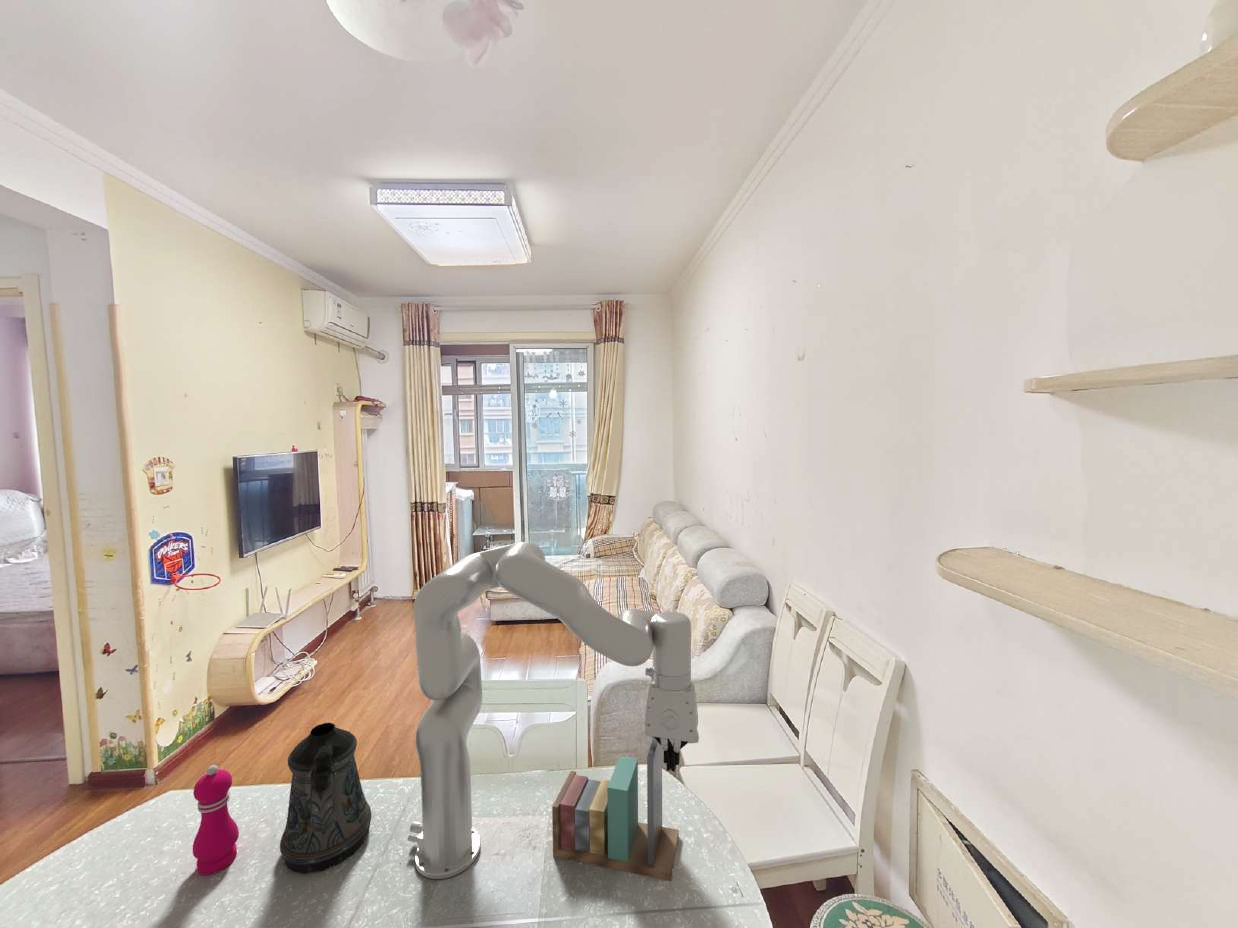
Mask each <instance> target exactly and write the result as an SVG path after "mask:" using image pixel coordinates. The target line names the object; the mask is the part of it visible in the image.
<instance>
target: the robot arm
mask: <svg viewBox="0 0 1238 928" xmlns="http://www.w3.org/2000/svg"><path fill="white" fill-rule="evenodd" d="M498 588H501V589H503V590H504V591H505V592H508V593H509V594H511V595H513V596H515V597H516V598H519V599H521V600H523V601H524V602H526V603H529V604H530V605H533V606H534V607H535V608H536V607H537V609H540V610H541V611H543V612H544V613H547V614H548V615H551V616H552V617H554V618H556V619H558V620H559V621H560V622H561V623H562V624H563V625H564V626H565V627H566V628H567V630H568V631H570V632H572V634H573V635H574V636H575V637H576V638H578V639H579V640H580V641H581V642H582V643H583V644H585V645H586V646H587V647H588V648H590V649H591V650H593V651H594V652H596V653H598V654H600V655H601V656H604V657H605V658H608V659H609V660H611V661H613V662H615V663H618V664H619V665H623V666H626V667H637V666H641V665H643V664H645V663H646V662H648V660H649V658H650V657H651V655H652V666H651V667H648V668H645V676H649V677H650V678H651V679H650V681H649V682H648V686H647V690H646V697H645V698H646V699H645V711H644V735H645V736H647V737H649V738H651V739H653V738H655V739H656V740H657V741H658V743H659V744H660V745H661V746H662V751H663V764H666V771H669V772H670V771H671V772H675V771H676V767H677V766H680V762H681V761H680V760H681V759H680V757H681V754H680V751H681V750H682V748H684V747H685V746H686V745H688V744H690V745H691V744H698V743H699V740H700V736H699V731H698V726H699V717H698V716H699V714H698V701H697V693H696V689H695V688H696V687H695V684H694V681H692V624H691V623H692V622H691V620H690V618H689V616H687V615H686V614H684V613H681V612H678V611H665V612H657V611H650V610H645V609H639V608H629V609H626V610H623V611H622V612H620V613H619V614H618V615H617V616H616V615H614V614H612V613H610V612H609V611H608V610H606V609H605V608H604V607H602V606H601V605H600V604H599V603H598V602H597V601H596V599H595V598H594V597H593V596H592V594H591V593H590V591H589V589H588V587H587V586H586V584H585V583H584V582H583V581H582V580H581V579H579V578H578V577H577V576H574V575H572V574H571V573H568V572H567V571H565V570H562V569H560V568H559V567H557V566H555V565H554V564H551V563H549V562H547V561H546V556H545V553H544V551H543V550H542V549H541V547H539V546H538V545H536V544H535V543H533V542H529V541H520V542H514V543H510V544H507V545H503V546H499V547H495V548H491V549H487V550H482V551H479V552H475V553H471V554H468V555H466V556H465V557H463V558H461V559H460V560H458V561H457V562H455V563H454V564H452V565H450V566H449V567H448V568H447V569H445V570H443V571H441V572H440V573H439V574H437V575H436V576H434V577H432V578H431V579H430V580H428V581H427V582H426V583H424V585H423V586H422V587H421V588H420V589H419V591H418V592H417V594H416V596H415V598H414V602H413V619H414V628H415V629H414V631H415V647H416V648H415V649H416V660H417V661H416V663H417V664H416V665H417V679H418V685H419V688H420V690H421V692H422V694H423V695H424V696H425V697H426V698H428V699H429V700H431V701H432V703H431V704H430V705H429V706H428V708H427V709H426V710H425V712H424V713H423V715H422V716H421V718H420V720H419V723H418V724H417V727H416V731H415V738H414V739H415V740H414V742H415V746H416V752H417V755H418V760H419V770H420V771H419V772H420V787H421V789H420V790H421V793H420V794H421V821H417V820H416V821H415V820H414V821H412V823H411V824H410V827H409V832H410V833H409V834H408V836H407V842H412V843H416V844H417V849H416V851H415V855H414V864H415V865H414V866H415V867H416V868H415V869H416V870H417V872H418V873H419V874H420V875H421V876H423V877H425V878H428V879H432V880H442V879H443V880H444V879H448V878H451V877H454V876H457V875H458V874H460V873H462V872H464V871H466V869H468V868H469V867H470V866H471V865H472V864H473V863H474V862H475V861H476V859H477V858H478V855H479V853H480V850H481V838H480V837H481V836H480V834H479V832H478V831H477V830H476V829H475V828H473V814H472V809H473V806H472V775H471V774H472V773H471V758H470V753H469V750H468V746H467V740H468V736H469V732H470V730H471V729H472V726H473V724H474V722H475V720H476V719H477V717H478V715H479V713H480V711H481V710H482V709H481V708H482V706H483V683H482V682H483V681H482V667H481V655H480V654H481V653H480V650H479V647H478V645H477V643H476V641H475V640H474V638H472V636H470V635H469V634H467V633H465V632H462V628H461V622H460V618H459V615H458V614H459V612H461V611H462V610H463V609H466V608H467V607H470V606H471V605H473V604H474V603H475V602H476V601H477V600H478V599H479V598H480V597H482V595H484V593H485V592H486V591H490V590H493V589H498ZM671 740H672V741H673V740H674V742H673V744H672V741H671Z"/></svg>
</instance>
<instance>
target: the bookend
mask: <svg viewBox="0 0 1238 928" xmlns="http://www.w3.org/2000/svg"><path fill="white" fill-rule="evenodd" d="M646 768H647V769H646V773H647V774H646V776H647V779H646V781H647V782H646V789H647V790H646V791H647V792H646V793H647V794H646V796H647V799H646V801H647V802H646V803H647V804H646V806H647V809H646V811H647V812H646V813H647V815H646V816H647V821H646V822H647V823H646V824H647V831H648V865H649V866H654V863H655V858H656V854H657V849H658V845H659V840H660V836H661V831H662V827H663V749H662V746H661V745H660V744H659V743H658V741H657V740H656V739H655V738H652V739H651V742H650V746H649V750H648V752H647V756H646Z"/></svg>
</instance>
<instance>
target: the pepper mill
mask: <svg viewBox="0 0 1238 928" xmlns="http://www.w3.org/2000/svg"><path fill="white" fill-rule="evenodd" d="M232 784H233V777H232V774H231V772H229V771H228V770H225V769H221V768H220V769H219V767H218V765H215V764H212V765H210V766H209V767H208V768H207V769H206V774H204V775H202V776H200V778H199V779H198V780H197V781H196V783H195V785H194V787H193V792H192V793H193V798H194V799H195V800H196V801H197V804H196V805H197V811H198V813H200V815H201V817H200V825H199V828H198V830H197V833H196V834H195V837H194V840H193V843H192V856H193V857H194V858H195V859H196V872H197V873H198V875H200V876H201V875H202V876H209V875H213V874H215V873H218V872H220V871H222V870H224V869H226V868H227V867H228V866H230V865H231V864H232V863H233V862H234V860H235V859H236V858H237V855H238V854H237V853H238V849H237V844H236V843H237V841H238V839H239V836H240V831H239V827H238V825H237V823H236V821H235V820H234V819H233V818H232V816H231V815H230V813H229V812H230V811H229V809H228V808H229V807H228V803H229V801H230V799H231V796H230V795H231V792H230V789H231V788H232V787H231V786H232Z"/></svg>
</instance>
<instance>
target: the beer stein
mask: <svg viewBox="0 0 1238 928" xmlns="http://www.w3.org/2000/svg"><path fill="white" fill-rule="evenodd" d="M357 745H358V740H357V738H356V736H355V735H354V734H353V733H352V732H350V731H349V730H346V729H343V728H339V727H337V726H336V725H335V723H332V722H323V723H321V724H318V725H316V726H314V727H313V728H311V731H310V732H309V734H308V735H307V736H306V737H305V738H304V739H302V740H301V741H300V742H298V743H297V744H296V746H295V747H294V748H293V749H292V751H291V752H290V753H289V755H288V758H287V766H288V769H289V771H290V772H291V774H292V775H291V782H290V790H289V798H288V799H289V800H288V809H287V818H286V824H285V828H284V831H283V833H282V836H281V838H280V842H279V852H280V853H281V856H282V859H283V862H284V866H285V867H286V868H287V869H288V870H290V872H293V873H297V874H302V875H307V874H312V873H318V872H323V871H326V870H328V869H331V868H333V867H336V866H338V865H340V864H342V863H343V862H344V861H346V860H347V859H348V858H351V857H352V856H353V855H355V853H356V852H357V851H358V850H360V848H361V847H362V846H363V845H364V844H365V842H366V839H367V837H368V836H369V832H370V826H371V821H372V810H371V807H370V804H369V802H368V800H367V799H366V796H365V794H364V790H363V787H362V784H361V778H360V774H359V770H358V766H357V763H356V762H357V761H356V757H355V753H356V750H357Z"/></svg>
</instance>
